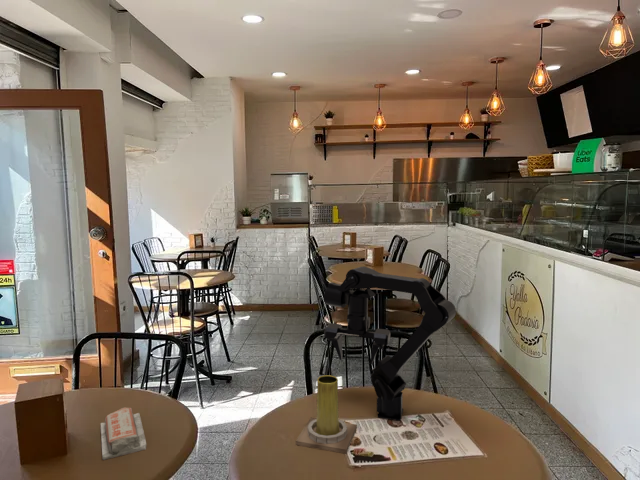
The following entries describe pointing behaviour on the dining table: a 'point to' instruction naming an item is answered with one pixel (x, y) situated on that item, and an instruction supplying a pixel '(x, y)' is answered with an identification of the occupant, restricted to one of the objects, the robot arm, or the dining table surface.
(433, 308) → the robot arm
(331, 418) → the vase
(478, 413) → the dining table surface
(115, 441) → the packaged product
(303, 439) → the socket board
